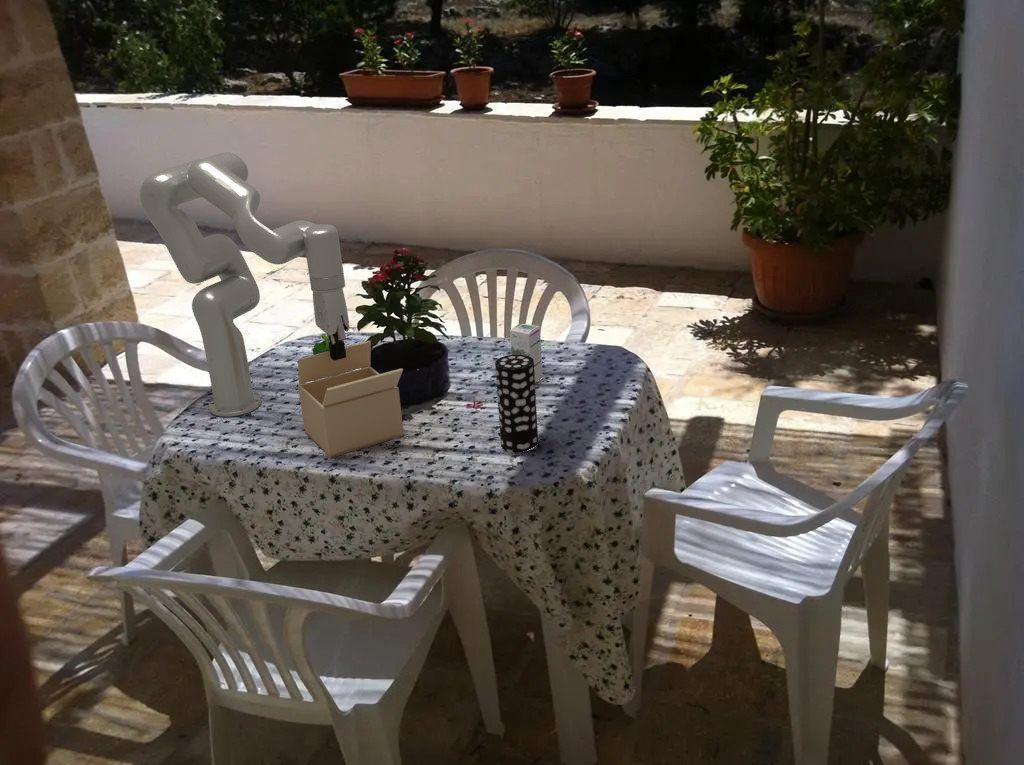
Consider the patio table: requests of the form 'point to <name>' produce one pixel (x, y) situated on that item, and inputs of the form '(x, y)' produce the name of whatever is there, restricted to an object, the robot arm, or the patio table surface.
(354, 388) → the cardboard box flap
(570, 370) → the patio table surface
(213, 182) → the robot arm
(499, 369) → the spotted tube
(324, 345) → the bell pepper
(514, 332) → the syrup box
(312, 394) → the carton
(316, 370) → the flap
